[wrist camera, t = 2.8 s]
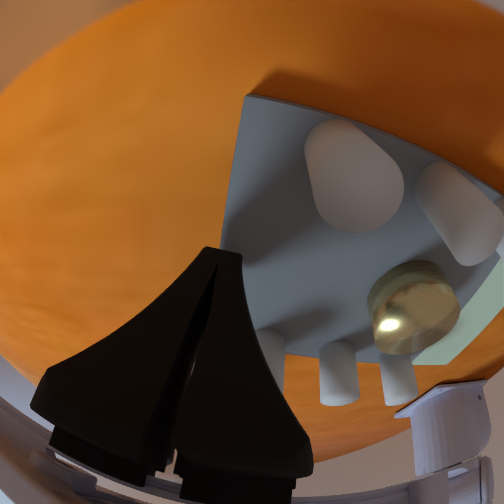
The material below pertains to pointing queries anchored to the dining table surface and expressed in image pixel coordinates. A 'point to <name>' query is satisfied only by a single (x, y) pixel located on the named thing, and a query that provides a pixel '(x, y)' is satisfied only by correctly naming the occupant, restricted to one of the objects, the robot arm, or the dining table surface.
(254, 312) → the board
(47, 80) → the dining table surface
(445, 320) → the brass metal puck
